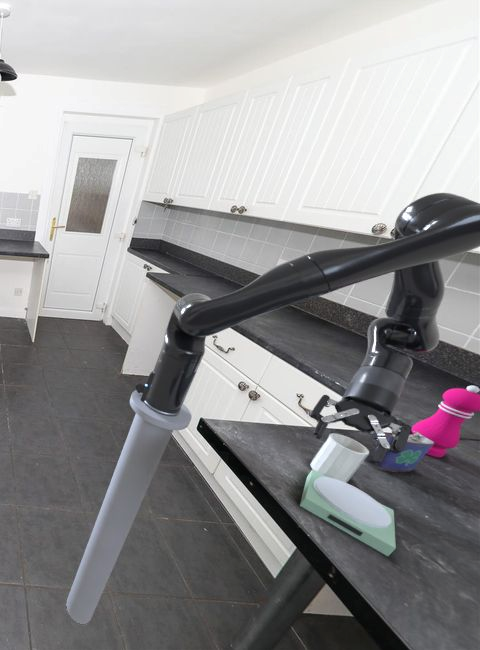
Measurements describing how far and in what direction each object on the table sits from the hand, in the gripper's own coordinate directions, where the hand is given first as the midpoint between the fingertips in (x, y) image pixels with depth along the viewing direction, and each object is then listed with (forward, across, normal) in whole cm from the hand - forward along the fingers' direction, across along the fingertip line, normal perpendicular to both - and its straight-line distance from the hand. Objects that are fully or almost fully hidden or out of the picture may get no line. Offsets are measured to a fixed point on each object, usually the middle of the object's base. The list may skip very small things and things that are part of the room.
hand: (343, 449), depth 74 cm
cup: (+5, 0, +5) cm, 7 cm away
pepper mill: (-20, +16, +30) cm, 40 cm away
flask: (-7, +10, +17) cm, 21 cm away
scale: (+14, +3, -4) cm, 14 cm away
